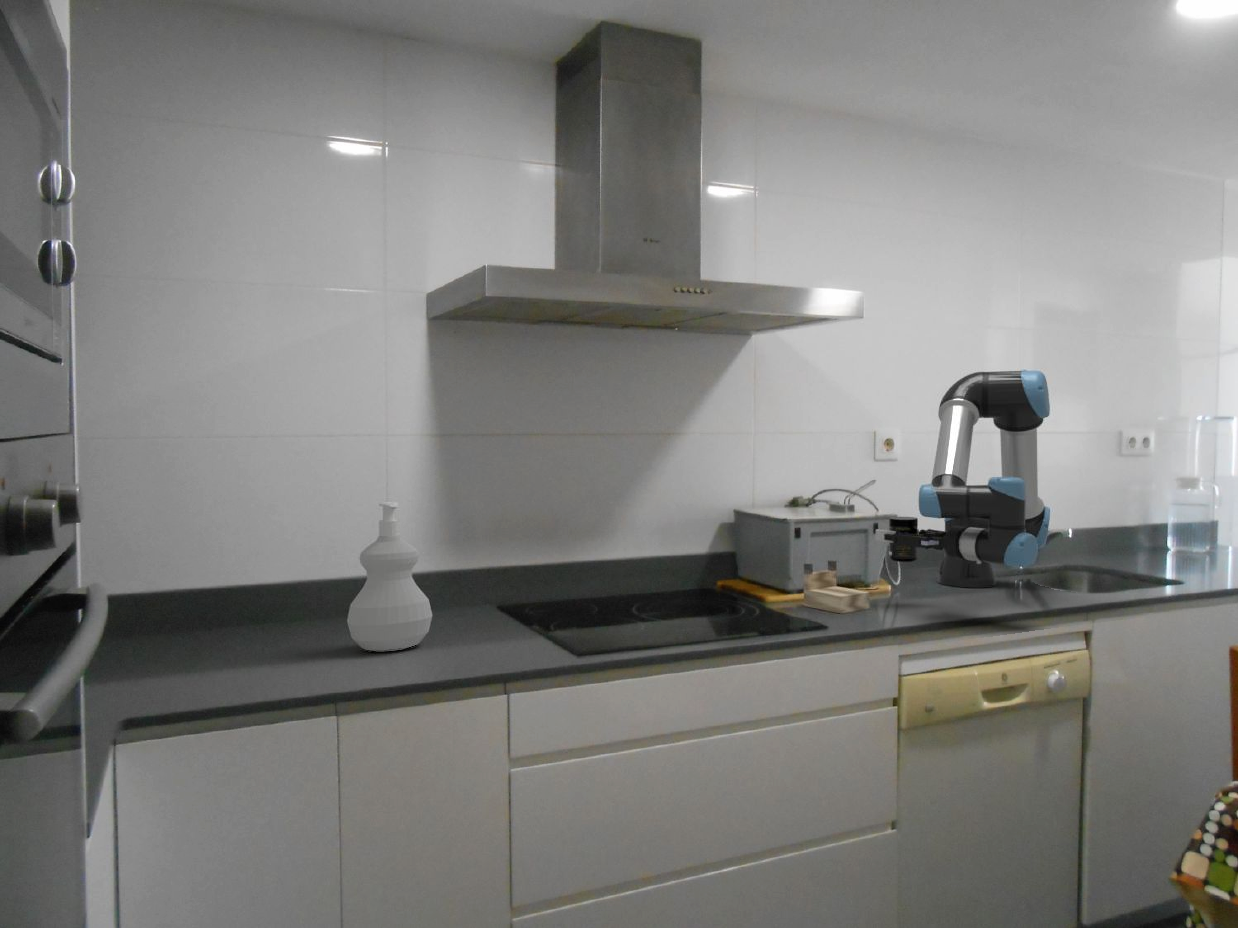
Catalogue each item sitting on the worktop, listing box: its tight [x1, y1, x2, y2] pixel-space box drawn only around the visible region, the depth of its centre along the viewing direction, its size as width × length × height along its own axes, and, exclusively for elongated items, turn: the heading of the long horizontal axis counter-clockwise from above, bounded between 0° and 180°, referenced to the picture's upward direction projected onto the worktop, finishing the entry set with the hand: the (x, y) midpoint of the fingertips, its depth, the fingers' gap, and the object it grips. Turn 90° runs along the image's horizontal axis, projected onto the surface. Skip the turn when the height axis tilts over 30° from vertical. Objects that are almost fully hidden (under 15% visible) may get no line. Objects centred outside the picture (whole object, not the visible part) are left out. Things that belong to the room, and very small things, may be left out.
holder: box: [803, 559, 871, 614], centre depth 221 cm, size 10×12×10 cm
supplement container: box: [888, 516, 919, 563], centre depth 222 cm, size 7×7×10 cm
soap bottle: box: [346, 501, 433, 651], centre depth 181 cm, size 17×12×29 cm
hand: (886, 533), depth 226 cm, fingers closed on supplement container, 7 cm apart
